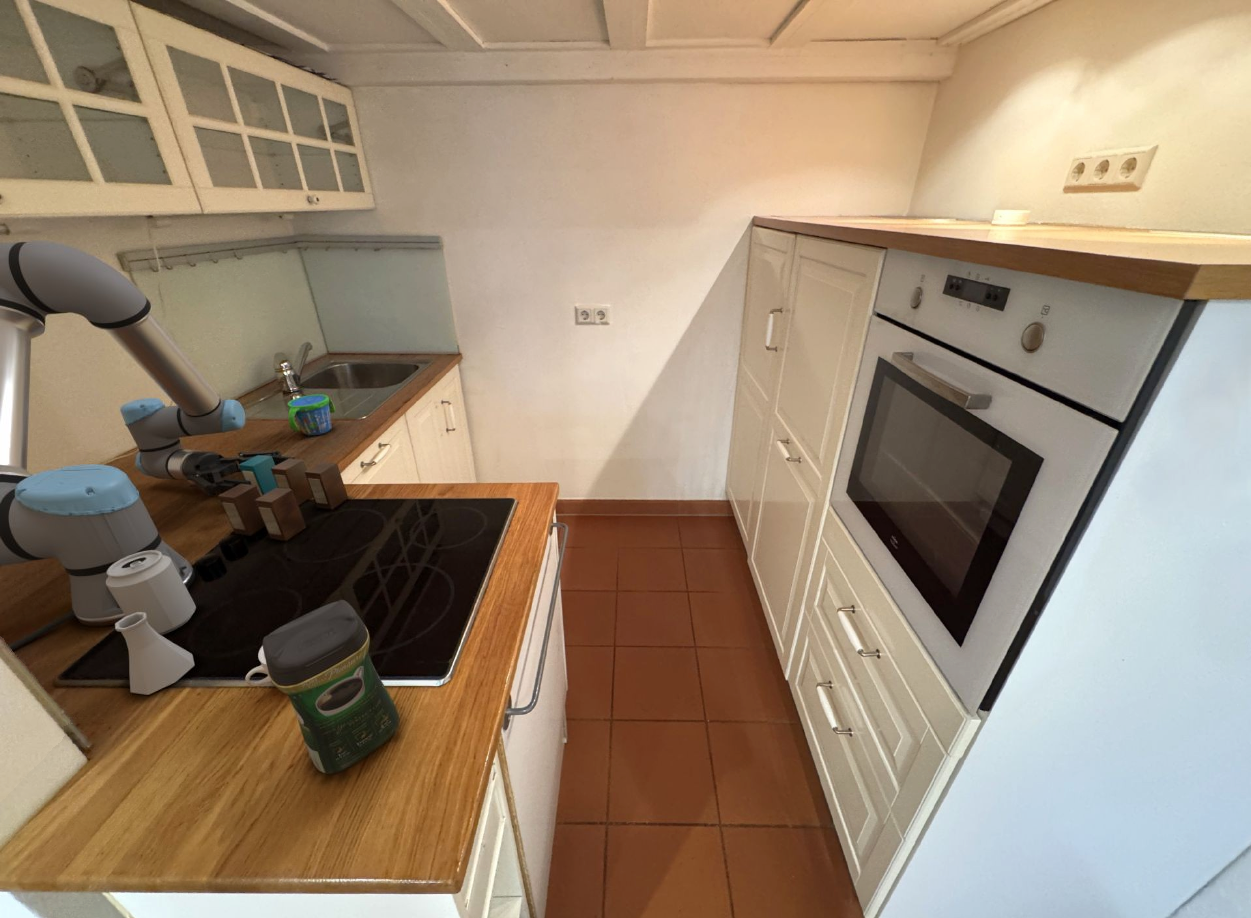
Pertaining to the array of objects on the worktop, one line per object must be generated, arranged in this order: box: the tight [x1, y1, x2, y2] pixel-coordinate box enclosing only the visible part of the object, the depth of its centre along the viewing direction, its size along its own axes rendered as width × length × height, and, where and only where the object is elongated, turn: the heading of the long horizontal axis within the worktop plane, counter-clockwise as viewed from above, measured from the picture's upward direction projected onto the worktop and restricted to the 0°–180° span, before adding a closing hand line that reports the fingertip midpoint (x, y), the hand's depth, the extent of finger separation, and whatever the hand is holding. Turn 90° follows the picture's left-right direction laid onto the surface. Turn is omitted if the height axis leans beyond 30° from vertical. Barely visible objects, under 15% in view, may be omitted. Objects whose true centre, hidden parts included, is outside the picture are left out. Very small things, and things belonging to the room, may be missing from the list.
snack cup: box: [287, 394, 336, 437], centre depth 149 cm, size 16×10×10 cm
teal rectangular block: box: [238, 455, 278, 496], centre depth 114 cm, size 5×4×9 cm
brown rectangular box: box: [271, 458, 313, 506], centre depth 112 cm, size 5×4×9 cm
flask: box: [114, 612, 195, 696], centre depth 68 cm, size 7×7×10 cm
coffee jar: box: [262, 599, 400, 775], centre depth 57 cm, size 10×8×19 cm
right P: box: [305, 461, 349, 510], centre depth 110 cm, size 5×4×9 cm
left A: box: [218, 484, 266, 536], centre depth 102 cm, size 5×4×9 cm
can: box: [106, 550, 197, 636], centre depth 77 cm, size 8×8×12 cm
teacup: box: [244, 645, 272, 687], centre depth 68 cm, size 10×8×5 cm
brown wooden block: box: [254, 488, 307, 542], centre depth 100 cm, size 5×4×9 cm
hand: (273, 474), depth 113 cm, fingers open, 11 cm apart
